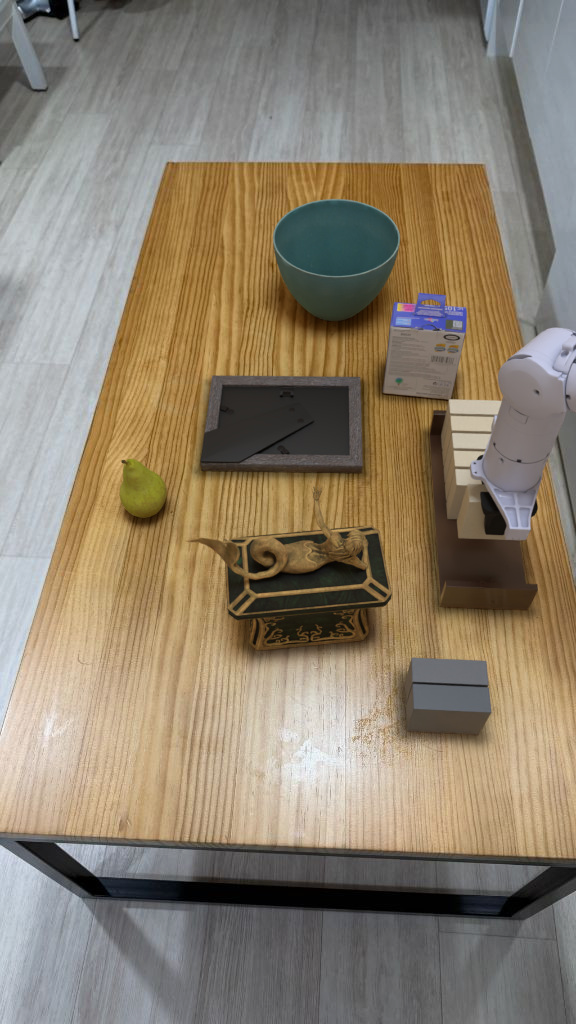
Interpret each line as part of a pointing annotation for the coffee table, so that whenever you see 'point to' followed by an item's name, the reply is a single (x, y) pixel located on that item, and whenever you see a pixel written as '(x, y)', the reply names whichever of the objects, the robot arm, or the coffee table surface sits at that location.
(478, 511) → the cream book
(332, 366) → the coffee table surface
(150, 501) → the fruit
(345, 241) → the teal bowl
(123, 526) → the coffee table surface
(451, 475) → the cream books
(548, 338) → the robot arm
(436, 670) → the grey books
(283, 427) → the picture frame
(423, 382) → the ink cartridge box
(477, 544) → the book rack
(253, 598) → the decorative box
